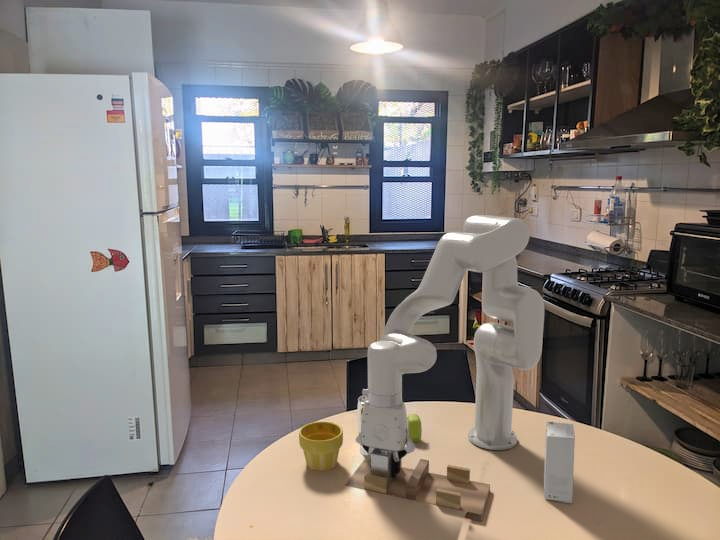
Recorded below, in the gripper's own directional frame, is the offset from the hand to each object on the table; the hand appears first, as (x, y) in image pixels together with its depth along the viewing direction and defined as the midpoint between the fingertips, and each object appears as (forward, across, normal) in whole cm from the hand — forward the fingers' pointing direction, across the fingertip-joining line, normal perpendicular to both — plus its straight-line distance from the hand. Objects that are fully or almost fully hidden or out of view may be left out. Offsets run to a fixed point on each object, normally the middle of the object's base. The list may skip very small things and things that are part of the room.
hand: (385, 472), depth 128 cm
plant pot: (+3, -16, 0) cm, 17 cm away
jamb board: (+3, +8, 0) cm, 8 cm away
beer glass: (+3, -7, +10) cm, 13 cm away
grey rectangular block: (+1, 0, 0) cm, 1 cm away
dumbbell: (+3, -5, +19) cm, 20 cm away
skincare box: (+3, +37, +10) cm, 38 cm away
